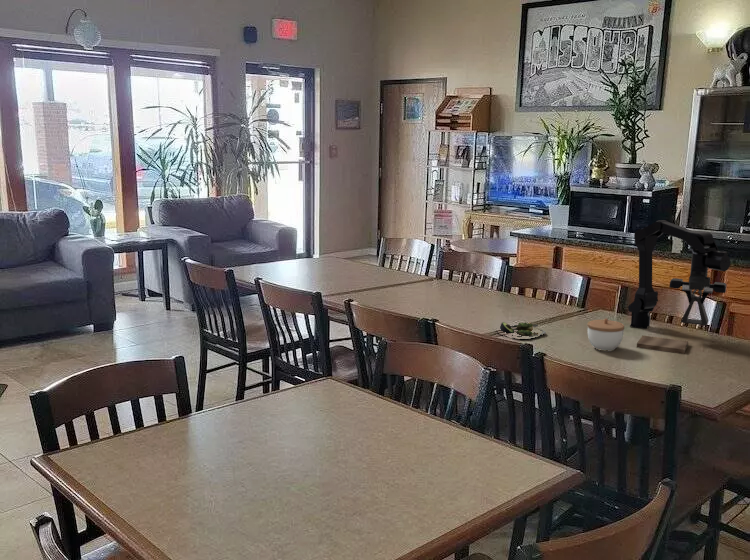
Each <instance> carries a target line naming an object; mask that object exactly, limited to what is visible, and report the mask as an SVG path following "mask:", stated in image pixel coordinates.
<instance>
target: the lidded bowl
mask: <svg viewBox="0 0 750 560" xmlns="http://www.w3.org/2000/svg"><path fill="white" fill-rule="evenodd" d="M624 329H625V325H624V324H623V323H622V322H619V321H615V320H610V319H608V318H604V319H593V320H590V321H588V322H587V337H588V342H589V343H590V344H591V346H593V348H594V347H595V348H597V349H601V350H608V351H607V352H612V351H611V350H613V351H615V350H614V349H616V348H617V347H619V346H620V344H621V342H622V340H623V338H624ZM595 348H594V349H595ZM597 349H596V350H597ZM609 350H610V351H609Z"/></svg>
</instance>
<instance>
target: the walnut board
mask: <svg viewBox="0 0 750 560" xmlns="http://www.w3.org/2000/svg"><path fill="white" fill-rule="evenodd" d="M688 346H689V340H682V339H673V338H665V337H657V336H650V335H641V337H640V338H639V339H638V341H637V343H636V348H638V347H640V348H641V349H646V350H654V351H662V352H669V353H677V354H683V355H684V354H685V353H686V351H687V348H688ZM640 348H639V349H640Z"/></svg>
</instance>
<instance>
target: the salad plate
mask: <svg viewBox="0 0 750 560" xmlns="http://www.w3.org/2000/svg"><path fill="white" fill-rule="evenodd" d="M510 325H511V324H508V323H506V322H505V321H502V322H501V323H500V329H501V331H503V332H506V333H514V330H518V331H517V332H516V333H517V334H519V335H521V336H517V337H522V336H529V337H533V336H538V334H537V335H536V334H535V333H532V332H531V331H532V330H533V328H534V329H538V330H540V331H542V333H541V334H540V335H542V334H544V335H545V334H546V330H544V329H541V328H537V327H539V324H532V322H529V323H527V322H518V325H514V324H513V325H514V326H510ZM511 327H517V328H516V329H512V328H511ZM512 336H513V335H512ZM542 336H543V335H542Z"/></svg>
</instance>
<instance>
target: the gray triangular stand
mask: <svg viewBox="0 0 750 560" xmlns="http://www.w3.org/2000/svg"><path fill="white" fill-rule="evenodd" d="M695 293H697V294H698V296H697V295H696V294H695ZM702 294H703V290H702V291H699V290H694V289H693V290H692V300H691V302H690V304H689V303H688V306H687V308H686V310H685V311H684V314H683V316H682V318H681V320H680V323H681V324H692V325H693V324H694V325H701V326H707V325H708V323H709V317H708V314H707V311H706V308H705V305H704V303H703V305H702V303H701V299H702ZM695 302H697V306H698V307H697V308H698V310H699V316H700V319H695V318H689V316H690V313H691V311H692V308H693V306H694V303H695Z"/></svg>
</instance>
